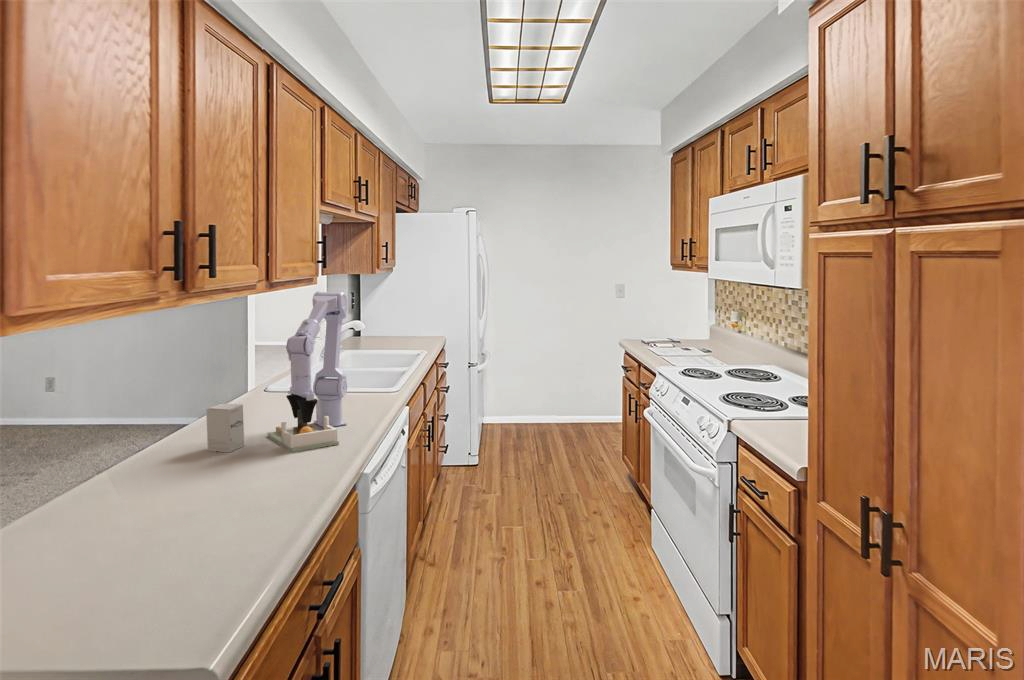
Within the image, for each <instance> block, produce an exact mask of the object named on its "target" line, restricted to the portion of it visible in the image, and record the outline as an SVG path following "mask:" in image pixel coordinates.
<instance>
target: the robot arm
mask: <svg viewBox="0 0 1024 680" xmlns="http://www.w3.org/2000/svg"><path fill="white" fill-rule="evenodd" d="M347 313H348V297H347V295H346V294H345V292H343V291H340V292H339V291H338V292H337V291H336V292H334V291H331V292H330V291H315V293H314V294H313V297H312V309H311V312H310V313H309V316H308V318H306V319H304V320H303V321H302V322H301V324H300V325H299V327H298V329H297V331H296V332H295V334H294V335H292V336H291V337H288V339H287V342H286V352H287V356H288V361H290V378H291V379H290V382H291V383H290V385H291V386H290V387H289V390H287V394H288V395H286V396H285V397H286V399H287V400H288V402H289V404H290V407H291V412H292V415H293V418H294V419H298V418H297V411H298V410H301V414H302V420H303V423H307V424H308V423H311V422H312V420H313V419H312V418H313V413H314V410H315V415H316V416H315V417H316V418H315V420H314V421H313V423H314V424H316V425H318V426H320V427H321V428H324V416H328V417H329V425H330V426H332V427H338V426H345V425H346V426H347V425H348V422H345V421H343V403H342V402H343V401H342V399H343V398H344V397H345V396H346V394H347V392H348V383H347V375H346V374H345V373H344V372H343V371H342V370H341V369H340V368H339V367H340V352H341V342H342V341H341V337H342V328H343V327H342V325H343V319H345V318H347ZM323 319H325V320H324V321H326V324H325V325H326V326H325V328H326V329H325V336H324V337H325V339H324V340H325V341H324V352H323V366H322V367H323V368H322V369H321V370H319V371H317V372H316V373H315V376H314V377H315V378H314V382H313V386H312V367H311V366H312V365H311V364H312V363H311V362H312V361H311V360H312V359H311V356H312V354H313V353H314V348H315V347H314V346H315V343H316V341H315V339H316V338H317V336H318V334H319V333H320V331H321V326H320V323H321V322H322V321H323ZM315 396H316V398H315Z"/></svg>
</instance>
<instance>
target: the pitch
mask: <svg viewBox="0 0 1024 680" xmlns="http://www.w3.org/2000/svg"><path fill="white" fill-rule="evenodd" d="M312 430H313V432H309V433H303V434H296V435H294V434H293V429H287V422H286V421H283V422H282V421H281V424H280V426H275V431H273V432H267V437H268V438H269V437H270V440H273V441H274V442H276V443H277V444H279V445H280V446H281V447H283V448H285V449H287V450H288V451H289V452H292V453H297V452H304V451H309V449H310V450H314V449H315V448H316V449H320V448H321V447H322V448H326V446H328V447H332V445H334V446H338V444H339V443H340V441H339V440H338V429H337V428H335V426H333V427H332V426H330V425H329V417H328V416H324V427H323V430H318V429H317V428H315V427H313V426H312ZM339 445H340V444H339Z"/></svg>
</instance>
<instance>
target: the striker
mask: <svg viewBox="0 0 1024 680" xmlns="http://www.w3.org/2000/svg"><path fill="white" fill-rule="evenodd" d="M296 419H297V426H294V427H293V434H294V435H296V434H299V433H300V430H301V429H302V428H303V427H305V426H308V427H310V428H312V427H313V426H312V425H310V424H308V423H303V420H302V414H301V410H298V411H297V418H296Z"/></svg>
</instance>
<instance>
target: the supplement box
mask: <svg viewBox="0 0 1024 680" xmlns="http://www.w3.org/2000/svg"><path fill="white" fill-rule="evenodd" d="M205 414H206V433H207V434H206V435H207V437H206V438H207V451H209V452H216V451H219V453H231V452H233V451H235V450H237V449H239V448H242V446H243V447H244V446H245V431H244V429H245V428H244V425H245V424H244V423H245V422H244V404H240V403H219V404H217V405H216V404H215V405H212V406H210V407H207V408H206V410H205Z"/></svg>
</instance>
